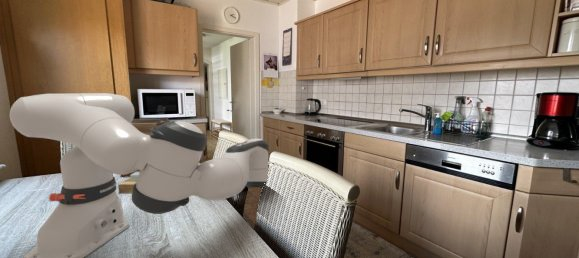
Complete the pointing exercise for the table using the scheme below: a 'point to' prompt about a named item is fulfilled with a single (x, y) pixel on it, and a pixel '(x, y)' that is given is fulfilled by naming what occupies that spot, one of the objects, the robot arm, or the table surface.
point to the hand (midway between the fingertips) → (204, 172)
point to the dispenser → (148, 124)
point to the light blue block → (134, 176)
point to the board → (126, 186)
